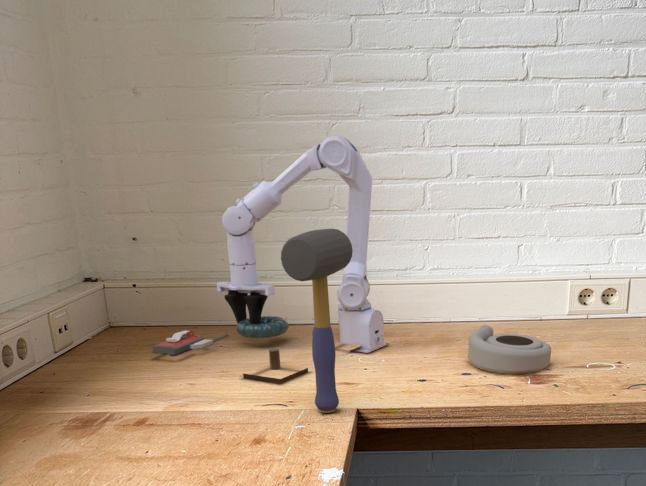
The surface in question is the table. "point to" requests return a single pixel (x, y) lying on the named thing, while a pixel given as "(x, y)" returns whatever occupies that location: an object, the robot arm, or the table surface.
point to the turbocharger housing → (507, 352)
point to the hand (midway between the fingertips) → (248, 325)
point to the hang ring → (263, 327)
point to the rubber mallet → (319, 298)
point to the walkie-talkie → (183, 343)
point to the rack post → (275, 365)
